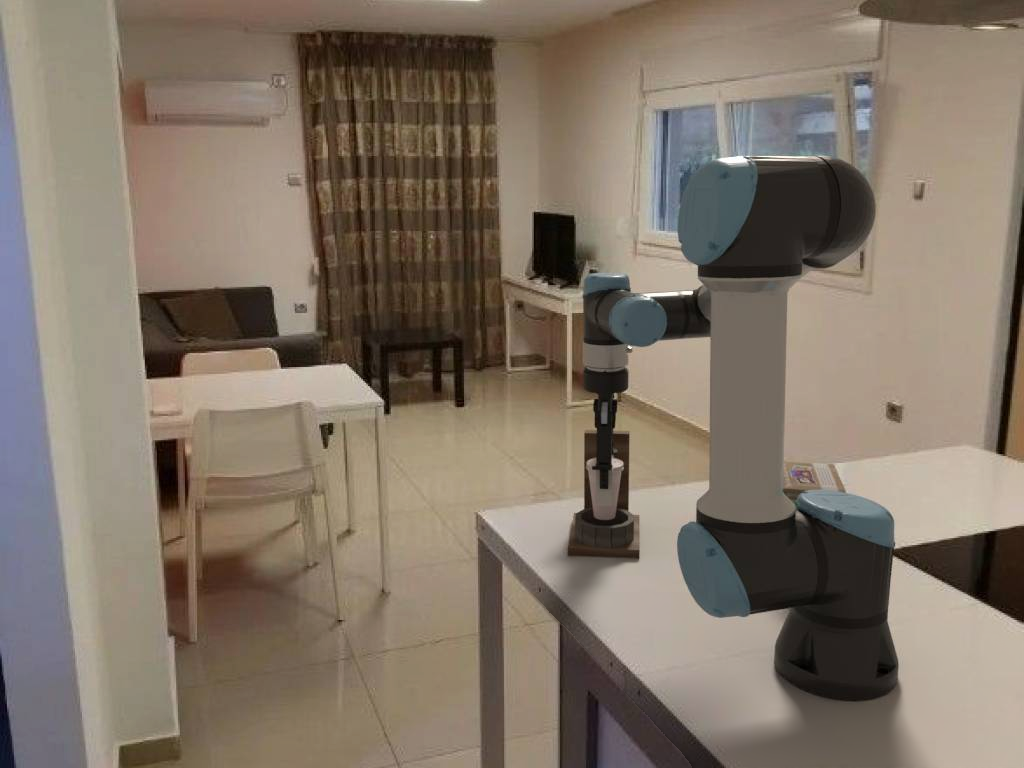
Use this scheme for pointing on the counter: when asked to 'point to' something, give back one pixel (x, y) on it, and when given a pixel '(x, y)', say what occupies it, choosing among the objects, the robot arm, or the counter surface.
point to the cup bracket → (606, 535)
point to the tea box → (809, 478)
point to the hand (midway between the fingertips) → (604, 497)
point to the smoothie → (610, 511)
